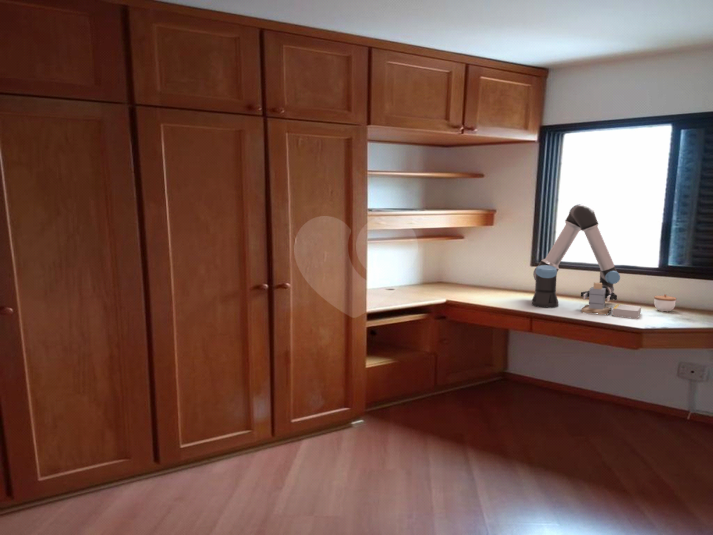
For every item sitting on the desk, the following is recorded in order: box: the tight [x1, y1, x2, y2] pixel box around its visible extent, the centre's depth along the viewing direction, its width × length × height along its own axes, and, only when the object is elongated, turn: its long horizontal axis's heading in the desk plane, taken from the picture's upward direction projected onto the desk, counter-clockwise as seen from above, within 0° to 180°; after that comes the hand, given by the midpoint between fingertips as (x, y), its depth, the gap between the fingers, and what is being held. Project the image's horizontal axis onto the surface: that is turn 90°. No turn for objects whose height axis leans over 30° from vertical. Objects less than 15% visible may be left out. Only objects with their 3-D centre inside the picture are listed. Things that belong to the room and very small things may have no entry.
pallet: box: [581, 304, 612, 316], centre depth 286 cm, size 13×13×2 cm
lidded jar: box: [653, 293, 677, 312], centre depth 289 cm, size 11×11×9 cm
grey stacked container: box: [588, 286, 606, 309], centre depth 286 cm, size 7×7×11 cm
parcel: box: [592, 281, 602, 289], centre depth 285 cm, size 4×4×3 cm
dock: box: [611, 303, 642, 319], centre depth 279 cm, size 12×14×4 cm
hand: (595, 298), depth 282 cm, fingers open, 11 cm apart
